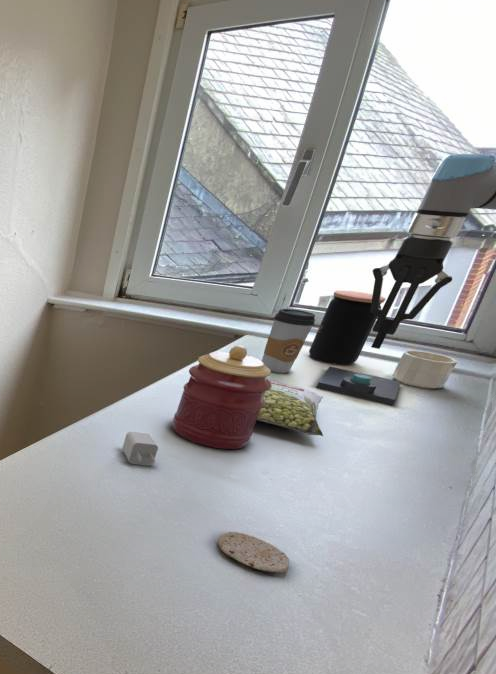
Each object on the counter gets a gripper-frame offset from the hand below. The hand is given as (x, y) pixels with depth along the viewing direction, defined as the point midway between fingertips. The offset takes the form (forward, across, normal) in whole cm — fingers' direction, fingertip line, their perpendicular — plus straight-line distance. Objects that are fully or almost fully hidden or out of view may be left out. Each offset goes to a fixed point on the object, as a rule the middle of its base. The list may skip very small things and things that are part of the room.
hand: (375, 346), depth 124 cm
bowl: (+11, +10, +24) cm, 28 cm away
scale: (+11, 0, +7) cm, 13 cm away
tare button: (+9, 0, 0) cm, 9 cm away
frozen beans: (+12, -13, -32) cm, 37 cm away
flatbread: (+12, -2, -90) cm, 91 cm away
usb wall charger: (+12, -22, -75) cm, 79 cm away
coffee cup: (+12, -17, +6) cm, 21 cm away
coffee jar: (+12, -8, +30) cm, 33 cm away
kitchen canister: (+12, -17, -53) cm, 57 cm away
